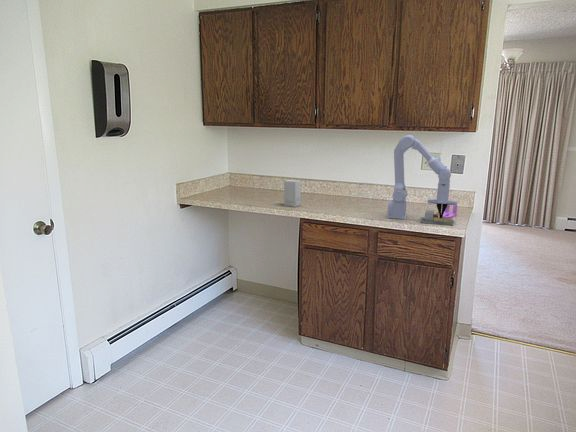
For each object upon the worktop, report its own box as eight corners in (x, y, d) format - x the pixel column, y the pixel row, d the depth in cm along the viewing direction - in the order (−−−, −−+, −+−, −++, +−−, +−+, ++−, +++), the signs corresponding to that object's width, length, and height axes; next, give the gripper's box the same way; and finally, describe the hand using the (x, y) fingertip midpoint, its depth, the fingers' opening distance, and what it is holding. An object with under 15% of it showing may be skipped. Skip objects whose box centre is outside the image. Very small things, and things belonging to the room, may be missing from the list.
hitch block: (420, 221, 229) (421, 211, 228) (421, 218, 234) (422, 209, 233) (446, 223, 224) (446, 213, 223) (446, 220, 230) (447, 211, 229)
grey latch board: (420, 222, 225) (420, 215, 224) (422, 218, 236) (422, 211, 235) (453, 225, 219) (453, 218, 218) (453, 220, 230) (454, 213, 229)
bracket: (446, 214, 246) (447, 202, 245) (456, 215, 243) (457, 203, 242) (439, 218, 236) (440, 205, 235) (449, 219, 233) (451, 207, 231)
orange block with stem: (424, 218, 228) (424, 213, 228) (425, 216, 233) (425, 211, 232) (437, 219, 226) (438, 214, 225) (438, 217, 230) (438, 212, 230)
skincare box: (300, 205, 265) (301, 180, 262) (295, 207, 260) (295, 181, 256) (289, 204, 270) (289, 179, 266) (283, 205, 264) (283, 180, 261)
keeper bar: (433, 220, 223) (433, 217, 223) (433, 220, 224) (434, 217, 224) (452, 222, 220) (452, 219, 219) (452, 222, 221) (452, 219, 220)
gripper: (427, 192, 224) (425, 218, 227) (458, 194, 218) (455, 221, 222) (428, 190, 230) (426, 215, 233) (458, 192, 225) (455, 218, 228)
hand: (440, 218), depth 228 cm, fingers closed
